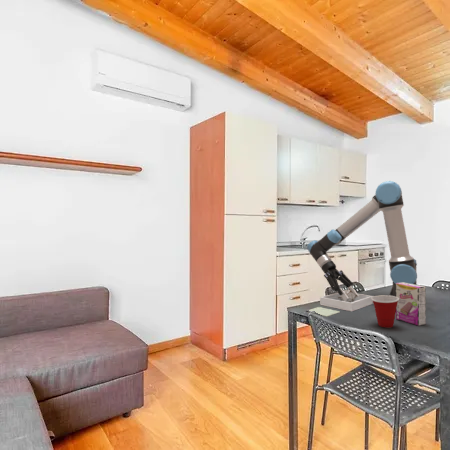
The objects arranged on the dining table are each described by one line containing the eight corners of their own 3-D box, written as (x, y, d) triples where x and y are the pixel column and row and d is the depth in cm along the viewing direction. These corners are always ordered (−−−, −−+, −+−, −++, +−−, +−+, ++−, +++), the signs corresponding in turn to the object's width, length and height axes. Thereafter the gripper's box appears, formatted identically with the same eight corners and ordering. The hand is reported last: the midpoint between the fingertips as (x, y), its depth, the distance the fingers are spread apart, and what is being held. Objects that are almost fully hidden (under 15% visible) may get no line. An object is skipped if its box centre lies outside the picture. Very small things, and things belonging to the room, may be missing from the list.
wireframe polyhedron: (351, 311, 181) (359, 299, 175) (335, 305, 183) (342, 293, 177) (352, 300, 188) (359, 287, 182) (336, 294, 190) (344, 281, 184)
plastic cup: (366, 322, 151) (366, 295, 151) (390, 321, 152) (389, 294, 152) (379, 330, 140) (379, 300, 140) (404, 329, 141) (404, 300, 141)
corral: (373, 303, 183) (373, 296, 183) (351, 311, 169) (351, 303, 168) (342, 298, 196) (342, 291, 196) (320, 304, 182) (320, 297, 182)
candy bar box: (395, 319, 155) (394, 283, 154) (402, 317, 157) (402, 281, 156) (418, 326, 145) (418, 287, 144) (426, 324, 147) (426, 286, 146)
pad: (339, 312, 167) (339, 311, 167) (326, 316, 160) (326, 315, 160) (318, 307, 176) (318, 306, 176) (305, 311, 169) (305, 310, 169)
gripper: (334, 267, 201) (359, 299, 188) (310, 270, 189) (334, 305, 176) (342, 258, 196) (368, 291, 183) (317, 261, 184) (343, 297, 171)
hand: (351, 298), depth 180 cm, fingers closed on wireframe polyhedron, 8 cm apart
